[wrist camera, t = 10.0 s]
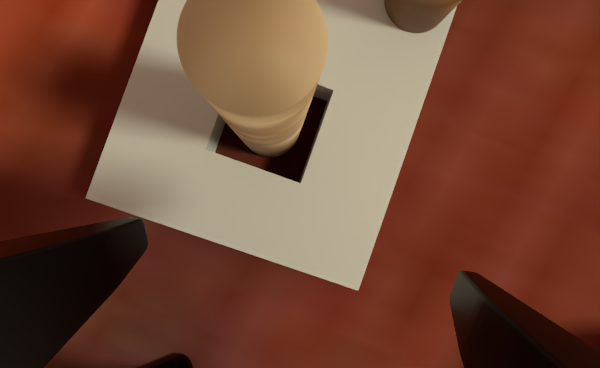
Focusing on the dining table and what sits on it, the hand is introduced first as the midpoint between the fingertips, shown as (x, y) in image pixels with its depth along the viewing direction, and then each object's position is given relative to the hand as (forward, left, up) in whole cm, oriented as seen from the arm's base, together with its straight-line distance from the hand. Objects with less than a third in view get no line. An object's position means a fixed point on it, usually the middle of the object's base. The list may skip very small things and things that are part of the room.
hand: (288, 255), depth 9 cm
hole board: (+3, +7, -12) cm, 15 cm away
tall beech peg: (+1, +6, -12) cm, 14 cm away
